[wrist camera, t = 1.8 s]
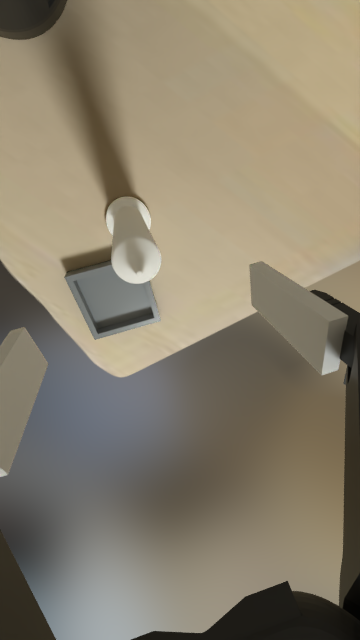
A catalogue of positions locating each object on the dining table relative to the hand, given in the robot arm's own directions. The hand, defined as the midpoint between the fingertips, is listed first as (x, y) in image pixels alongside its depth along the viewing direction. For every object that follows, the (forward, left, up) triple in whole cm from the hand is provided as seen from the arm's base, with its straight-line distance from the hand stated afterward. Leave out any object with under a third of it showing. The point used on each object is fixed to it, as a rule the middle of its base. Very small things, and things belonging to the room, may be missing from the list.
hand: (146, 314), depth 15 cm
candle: (0, 0, -32) cm, 32 cm away
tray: (+12, -6, -31) cm, 34 cm away
